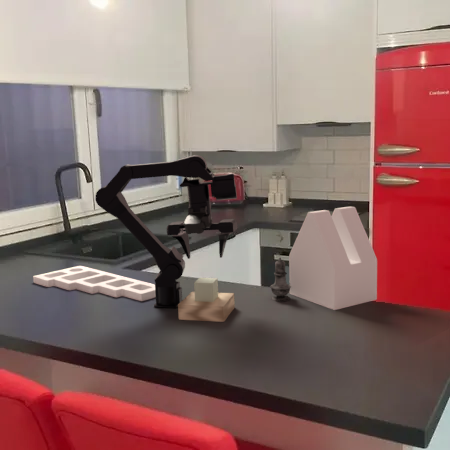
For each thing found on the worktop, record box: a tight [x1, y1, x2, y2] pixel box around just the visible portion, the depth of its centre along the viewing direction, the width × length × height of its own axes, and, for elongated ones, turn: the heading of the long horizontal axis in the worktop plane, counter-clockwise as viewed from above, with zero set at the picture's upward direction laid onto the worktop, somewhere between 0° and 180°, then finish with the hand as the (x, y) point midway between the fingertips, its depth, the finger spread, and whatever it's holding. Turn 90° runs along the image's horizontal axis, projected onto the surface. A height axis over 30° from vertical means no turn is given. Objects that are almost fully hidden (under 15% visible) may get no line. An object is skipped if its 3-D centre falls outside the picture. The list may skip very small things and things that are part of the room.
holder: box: [32, 265, 156, 302], centre depth 194 cm, size 45×18×3 cm, turn 46°
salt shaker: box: [269, 257, 291, 302], centre depth 175 cm, size 6×6×12 cm
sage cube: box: [193, 277, 219, 302], centre depth 164 cm, size 5×5×5 cm
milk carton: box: [288, 206, 378, 311], centre depth 175 cm, size 19×15×25 cm
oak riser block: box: [177, 291, 236, 323], centre depth 165 cm, size 12×12×4 cm
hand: (205, 257), depth 172 cm, fingers open, 9 cm apart
